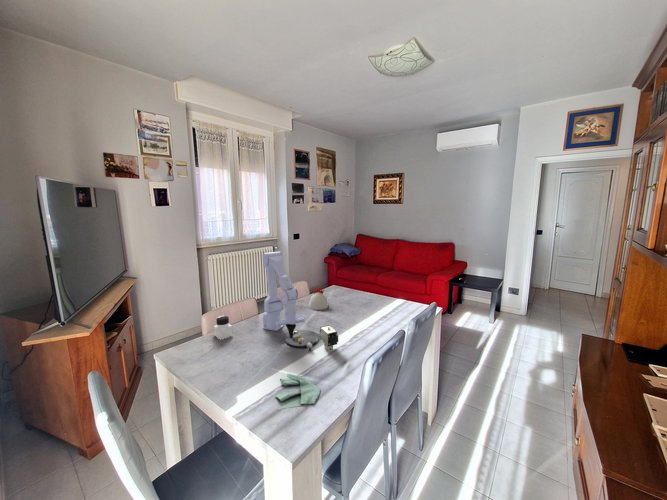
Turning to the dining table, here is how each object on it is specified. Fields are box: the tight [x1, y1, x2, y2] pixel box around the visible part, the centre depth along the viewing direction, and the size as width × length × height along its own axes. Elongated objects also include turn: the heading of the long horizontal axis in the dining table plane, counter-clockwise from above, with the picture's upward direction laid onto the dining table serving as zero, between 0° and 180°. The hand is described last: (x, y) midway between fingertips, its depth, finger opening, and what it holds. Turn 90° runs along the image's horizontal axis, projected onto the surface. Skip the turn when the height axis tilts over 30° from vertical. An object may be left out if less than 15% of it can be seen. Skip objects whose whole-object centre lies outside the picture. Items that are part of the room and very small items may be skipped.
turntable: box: [285, 329, 318, 347], centre depth 146 cm, size 17×17×4 cm
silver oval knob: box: [306, 342, 312, 352], centre depth 135 cm, size 3×2×4 cm, turn 70°
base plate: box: [280, 333, 322, 352], centre depth 146 cm, size 19×19×1 cm
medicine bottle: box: [213, 315, 234, 341], centre depth 148 cm, size 7×7×12 cm
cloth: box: [275, 373, 321, 410], centre depth 107 cm, size 20×22×2 cm
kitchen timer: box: [308, 287, 329, 311], centre depth 194 cm, size 14×14×15 cm
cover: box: [291, 329, 301, 340], centre depth 144 cm, size 5×5×4 cm
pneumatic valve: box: [319, 325, 339, 353], centre depth 135 cm, size 6×12×12 cm, turn 27°
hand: (291, 337), depth 143 cm, fingers closed, pressing on cover
